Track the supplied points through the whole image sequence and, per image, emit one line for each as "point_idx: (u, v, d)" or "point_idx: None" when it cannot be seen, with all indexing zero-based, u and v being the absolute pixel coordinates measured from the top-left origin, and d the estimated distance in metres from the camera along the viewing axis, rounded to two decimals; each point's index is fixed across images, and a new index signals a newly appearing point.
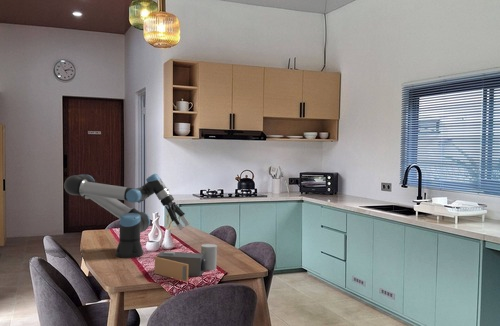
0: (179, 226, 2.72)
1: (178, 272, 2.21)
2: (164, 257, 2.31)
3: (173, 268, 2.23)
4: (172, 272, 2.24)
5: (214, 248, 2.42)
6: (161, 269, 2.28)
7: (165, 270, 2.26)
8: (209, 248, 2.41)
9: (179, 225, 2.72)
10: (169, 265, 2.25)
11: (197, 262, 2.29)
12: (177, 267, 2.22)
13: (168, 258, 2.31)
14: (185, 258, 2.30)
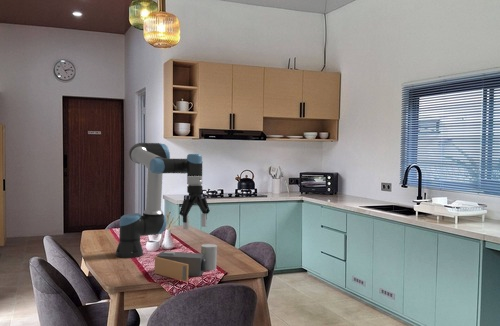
0: (184, 225, 2.27)
1: (178, 272, 2.21)
2: (164, 257, 2.31)
3: (173, 268, 2.23)
4: (172, 272, 2.24)
5: (214, 248, 2.42)
6: (161, 269, 2.28)
7: (165, 270, 2.26)
8: (209, 248, 2.41)
9: (185, 224, 2.27)
10: (169, 265, 2.25)
11: (197, 262, 2.29)
12: (177, 267, 2.22)
13: (168, 258, 2.31)
14: (185, 258, 2.30)
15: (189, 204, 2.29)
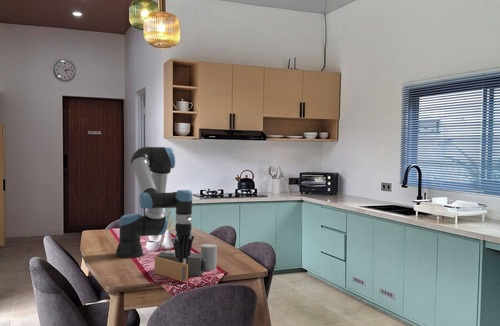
0: None
1: (178, 272, 2.21)
2: (164, 257, 2.31)
3: (173, 268, 2.23)
4: (172, 272, 2.23)
5: (214, 248, 2.42)
6: (161, 269, 2.28)
7: (165, 270, 2.26)
8: (209, 248, 2.41)
9: None
10: (169, 265, 2.25)
11: (197, 262, 2.29)
12: (177, 267, 2.21)
13: (168, 258, 2.31)
14: None
15: (180, 246, 2.22)
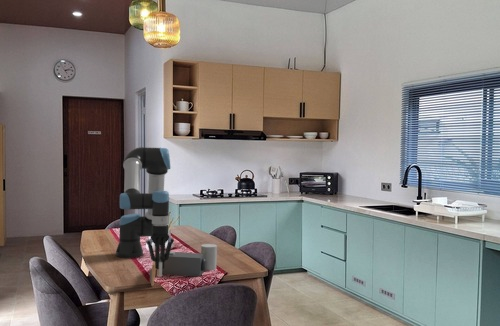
0: (157, 271, 2.16)
1: None
2: None
3: None
4: None
5: (214, 248, 2.42)
6: None
7: None
8: (209, 248, 2.41)
9: (158, 270, 2.15)
10: None
11: (197, 262, 2.29)
12: None
13: (168, 258, 2.31)
14: (185, 258, 2.30)
15: (156, 248, 2.14)
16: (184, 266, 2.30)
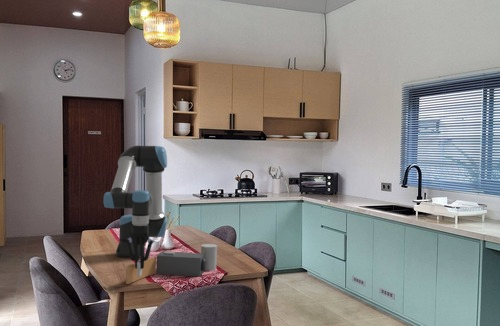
0: None
1: None
2: (164, 257, 2.31)
3: None
4: None
5: (214, 248, 2.42)
6: None
7: None
8: (209, 248, 2.41)
9: None
10: None
11: (197, 262, 2.29)
12: None
13: (168, 258, 2.31)
14: (185, 258, 2.30)
15: None
16: (184, 266, 2.30)
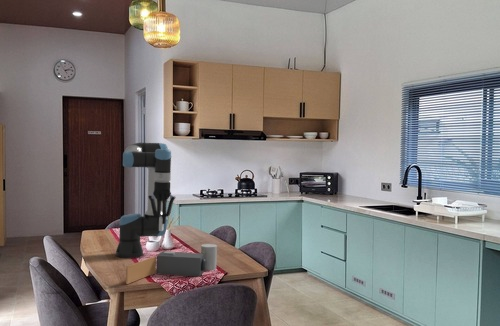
0: None
1: None
2: (164, 257, 2.31)
3: None
4: None
5: (214, 248, 2.42)
6: None
7: None
8: (209, 248, 2.41)
9: None
10: None
11: (197, 262, 2.29)
12: None
13: (168, 258, 2.31)
14: (185, 258, 2.30)
15: None
16: (184, 266, 2.30)
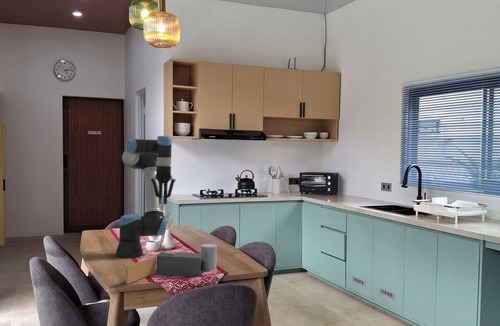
0: None
1: None
2: (164, 257, 2.31)
3: None
4: None
5: (214, 248, 2.42)
6: None
7: None
8: (209, 248, 2.41)
9: None
10: None
11: (197, 262, 2.29)
12: None
13: (168, 258, 2.31)
14: (185, 258, 2.30)
15: None
16: (184, 266, 2.30)
